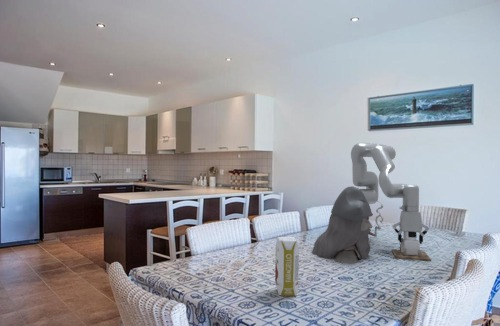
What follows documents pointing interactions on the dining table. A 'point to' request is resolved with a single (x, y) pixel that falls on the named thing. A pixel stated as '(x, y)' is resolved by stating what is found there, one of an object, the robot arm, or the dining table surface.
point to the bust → (347, 228)
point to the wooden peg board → (400, 255)
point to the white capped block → (410, 243)
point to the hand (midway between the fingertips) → (410, 242)
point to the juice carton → (287, 266)
